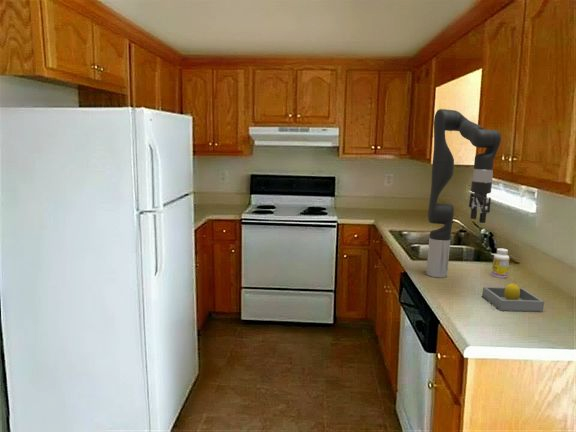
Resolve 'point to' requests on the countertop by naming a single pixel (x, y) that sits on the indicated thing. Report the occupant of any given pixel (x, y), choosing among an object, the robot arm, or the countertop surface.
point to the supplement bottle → (500, 263)
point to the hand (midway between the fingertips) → (477, 220)
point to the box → (522, 304)
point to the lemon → (512, 292)
